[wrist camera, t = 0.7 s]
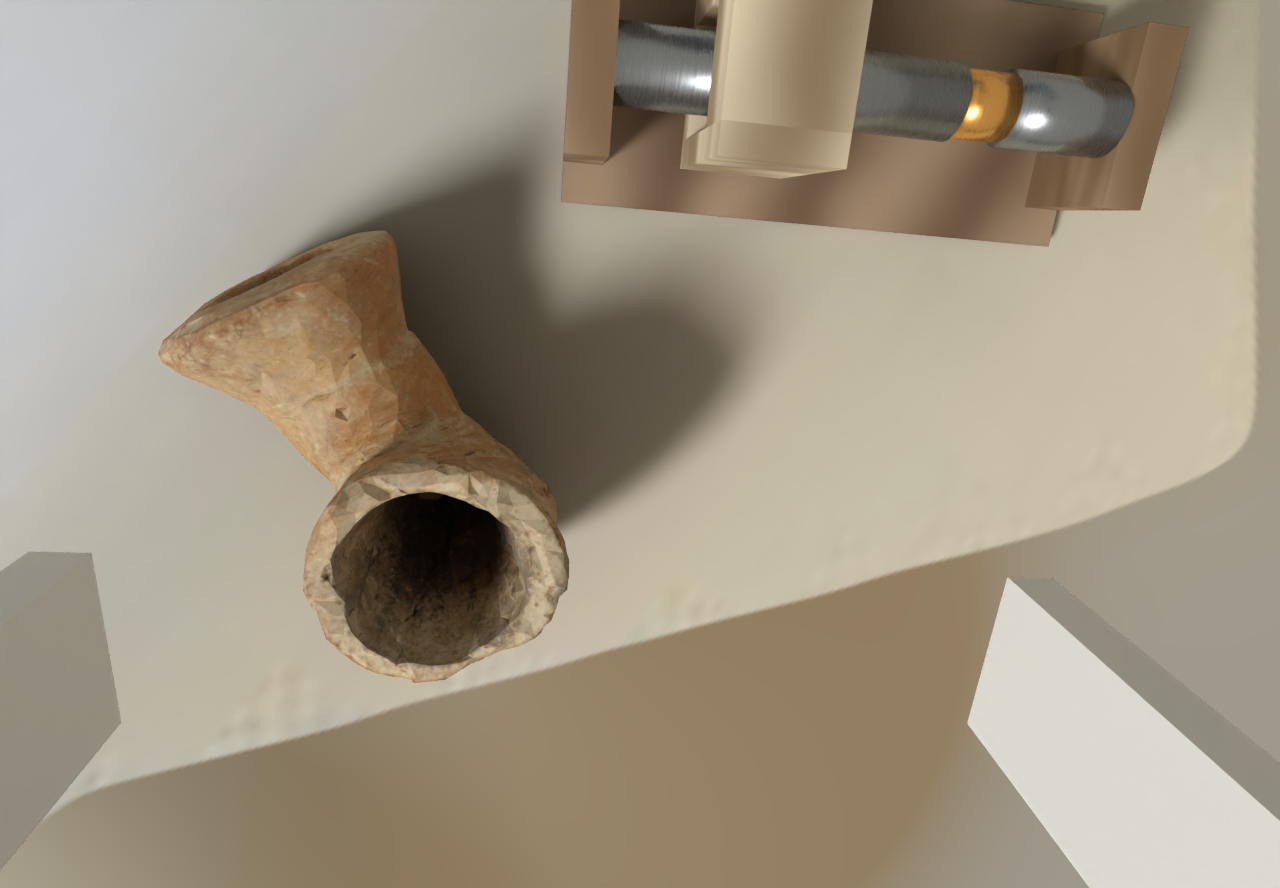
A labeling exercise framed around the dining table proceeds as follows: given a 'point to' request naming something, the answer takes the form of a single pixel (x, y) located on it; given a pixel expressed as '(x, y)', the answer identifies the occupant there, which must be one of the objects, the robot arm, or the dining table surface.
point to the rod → (899, 95)
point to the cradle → (881, 165)
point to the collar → (779, 86)
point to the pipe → (384, 464)
